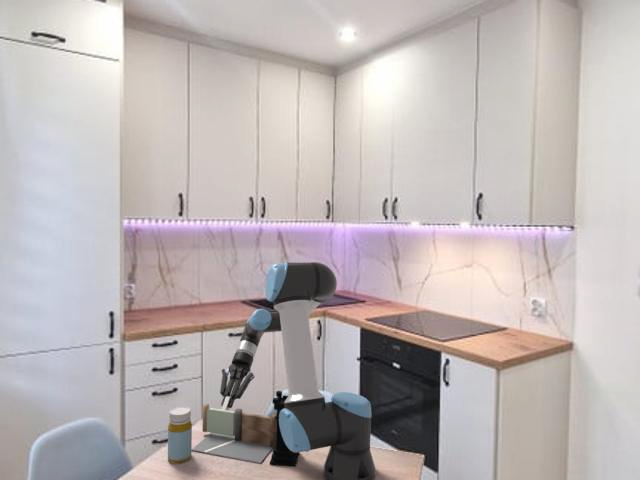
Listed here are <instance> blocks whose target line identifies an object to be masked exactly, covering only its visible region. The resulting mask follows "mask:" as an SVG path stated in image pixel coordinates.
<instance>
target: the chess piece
mask: <svg viewBox="0 0 640 480" xmlns="http://www.w3.org/2000/svg"><path fill="white" fill-rule="evenodd" d="M275 396H276V397H273V398H272V404H273V410H276V413H275V414H276V416H275V419H276V420H277V433H276V445H275V447H274V448H273V449H272V455H271V459H270V461H269V466H280V467H292V468H293V467H295V468H297V463H298V460H299V456H300V453H301V452H297V453H295V452H292V451H291V450H289V448H288V447H287V446H286V444H285V442H284V440H283V437H282V434H281V431H280V426H279V413H280V411H281V410H282V409H284V408H285V405H284V402H285V400H286V399H287V397H288V395H283V391H282V390H277V391H276V393H275Z"/></svg>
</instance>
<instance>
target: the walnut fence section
mask: <svg viewBox="0 0 640 480" xmlns="http://www.w3.org/2000/svg"><path fill="white" fill-rule="evenodd" d="M234 412H235V441H240V440H242V441H246V442H251V443H257V444H263V445H269V446H270V447H275V445H276V433H277V420H276V419H275V416H276V414H277V413H271V414H270V415H269V416H266V415H261V414H260V415H258V414H254V413H246V412H243V409H242V408H235V410H234Z"/></svg>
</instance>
